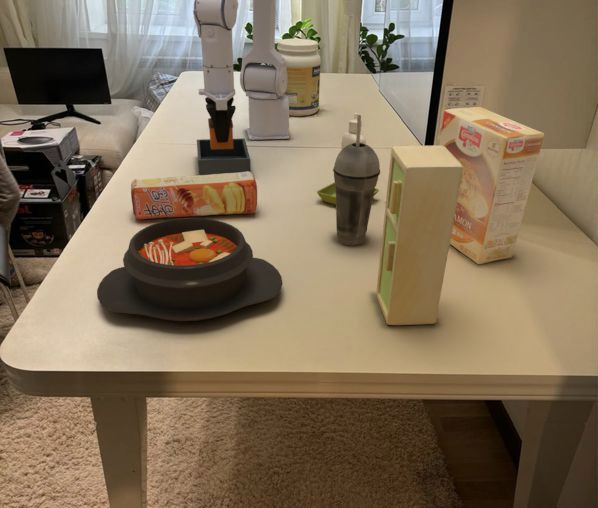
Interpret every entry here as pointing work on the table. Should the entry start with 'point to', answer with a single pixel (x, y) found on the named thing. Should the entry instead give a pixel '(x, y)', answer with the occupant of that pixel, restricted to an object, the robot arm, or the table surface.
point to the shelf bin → (223, 158)
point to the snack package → (194, 195)
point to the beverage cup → (355, 189)
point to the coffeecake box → (489, 179)
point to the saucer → (332, 193)
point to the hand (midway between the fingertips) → (221, 138)
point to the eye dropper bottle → (352, 133)
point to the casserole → (188, 272)
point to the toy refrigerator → (417, 232)
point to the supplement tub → (301, 75)
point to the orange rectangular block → (213, 139)
